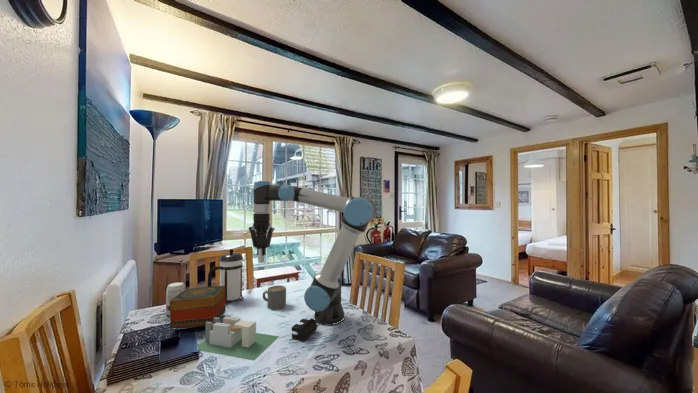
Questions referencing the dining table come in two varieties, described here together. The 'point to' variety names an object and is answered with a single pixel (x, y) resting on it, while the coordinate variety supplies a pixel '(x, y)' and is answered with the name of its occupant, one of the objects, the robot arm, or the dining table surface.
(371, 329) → the dining table surface
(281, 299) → the coffee mug
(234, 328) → the golden metal bar
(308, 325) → the end cap
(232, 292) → the coffee press
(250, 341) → the cream white stepped block
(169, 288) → the supplement can
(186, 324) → the decorative box
